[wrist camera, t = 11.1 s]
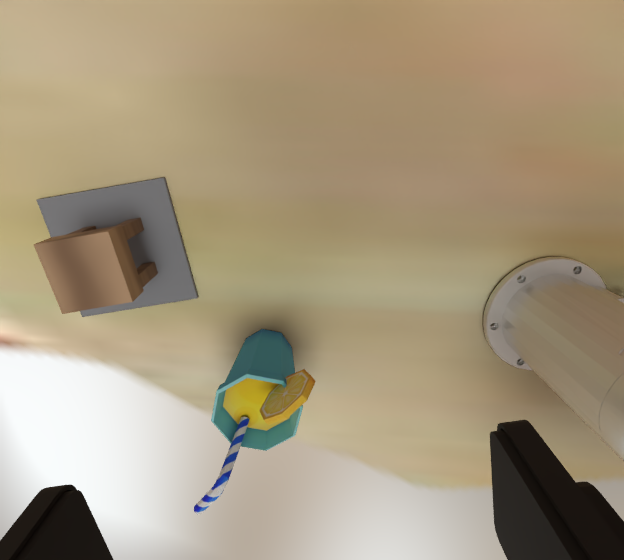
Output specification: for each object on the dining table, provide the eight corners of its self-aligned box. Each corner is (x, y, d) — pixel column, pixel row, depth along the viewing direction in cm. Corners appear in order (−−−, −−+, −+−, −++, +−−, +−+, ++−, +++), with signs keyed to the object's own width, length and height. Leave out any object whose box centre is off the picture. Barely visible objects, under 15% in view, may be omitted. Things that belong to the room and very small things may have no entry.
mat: (164, 177, 37) (163, 177, 37) (198, 296, 41) (197, 298, 41) (39, 199, 38) (36, 199, 37) (84, 315, 42) (82, 316, 41)
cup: (257, 417, 46) (237, 541, 32) (198, 384, 45) (150, 499, 31) (329, 327, 43) (343, 422, 29) (268, 288, 41) (250, 367, 27)
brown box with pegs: (141, 215, 38) (108, 231, 31) (160, 274, 40) (132, 301, 33) (80, 225, 38) (33, 244, 32) (101, 284, 40) (62, 313, 34)
